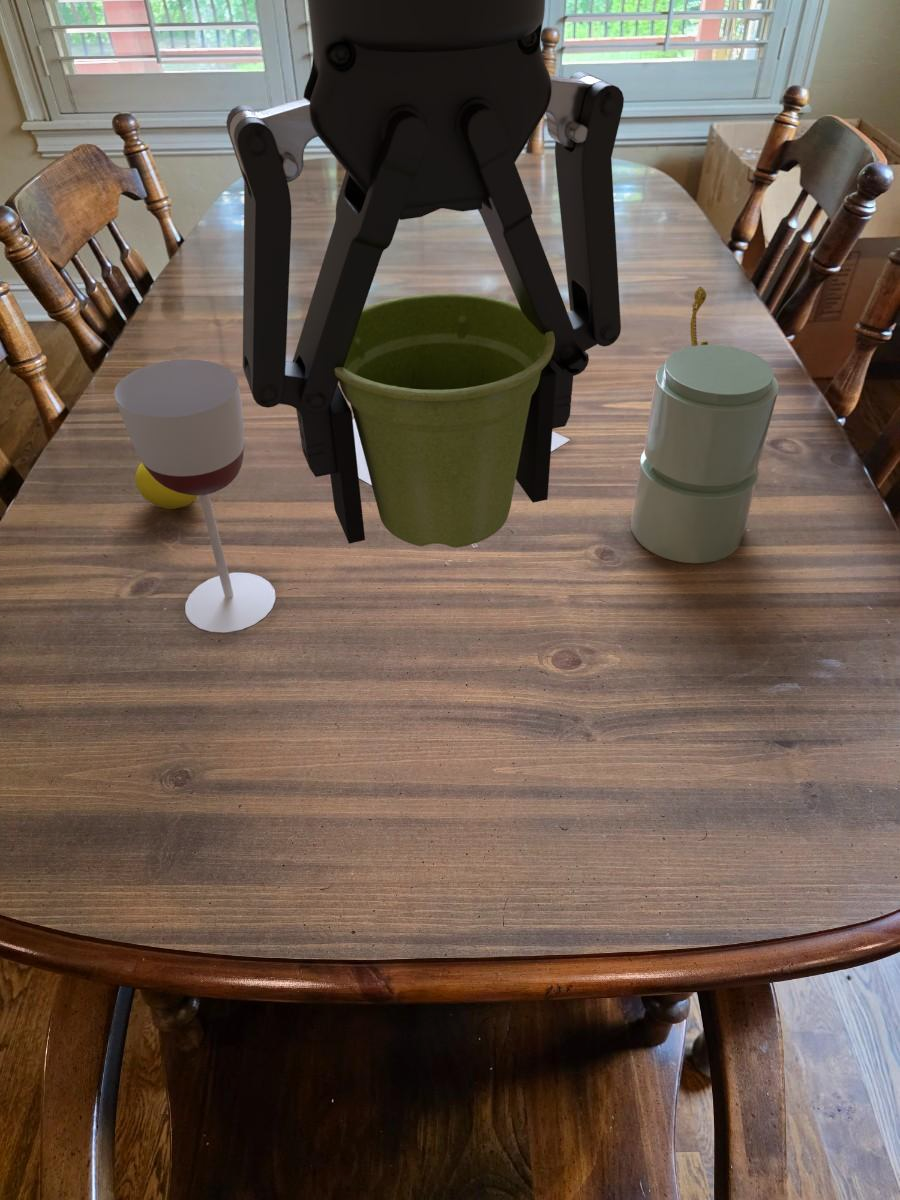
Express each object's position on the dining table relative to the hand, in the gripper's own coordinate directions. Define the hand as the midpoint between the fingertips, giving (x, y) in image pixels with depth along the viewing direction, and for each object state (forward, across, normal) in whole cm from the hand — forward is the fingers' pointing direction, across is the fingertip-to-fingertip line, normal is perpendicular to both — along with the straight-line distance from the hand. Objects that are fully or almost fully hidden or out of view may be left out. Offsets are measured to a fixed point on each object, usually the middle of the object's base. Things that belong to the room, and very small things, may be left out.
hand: (441, 504), depth 41 cm
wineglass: (+25, +11, -26) cm, 38 cm away
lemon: (+25, +14, -42) cm, 51 cm away
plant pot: (0, 0, 0) cm, 1 cm away
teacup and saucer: (+25, -14, -44) cm, 52 cm away
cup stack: (+25, -30, -22) cm, 45 cm away
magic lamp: (+25, -42, -39) cm, 62 cm away
